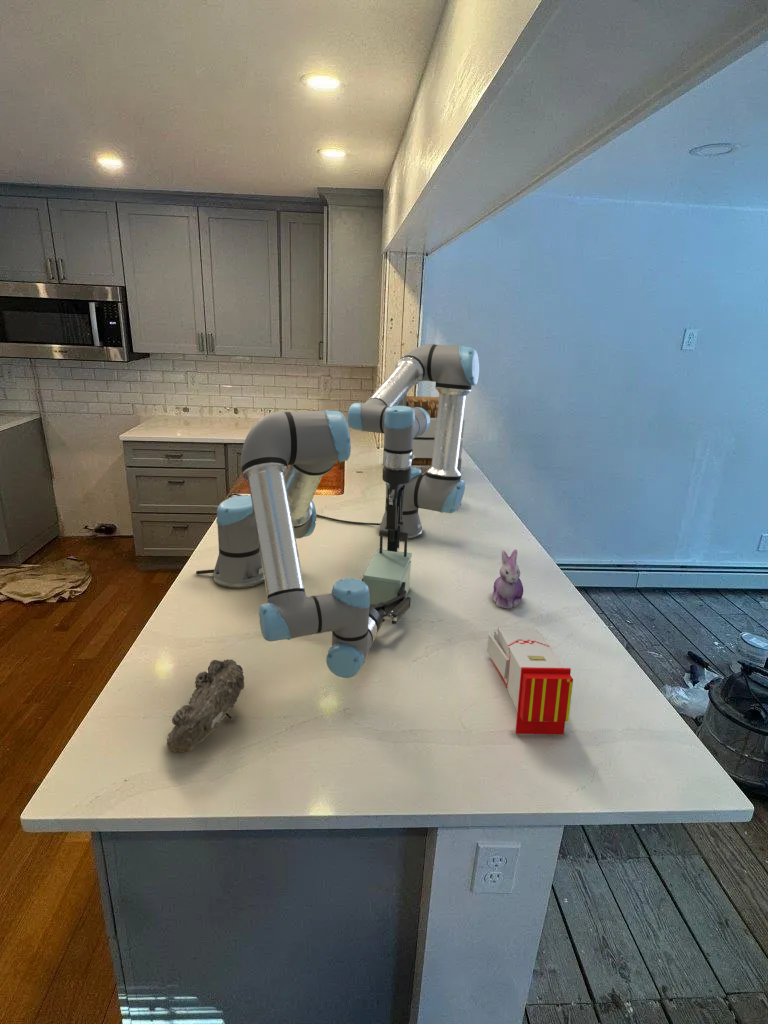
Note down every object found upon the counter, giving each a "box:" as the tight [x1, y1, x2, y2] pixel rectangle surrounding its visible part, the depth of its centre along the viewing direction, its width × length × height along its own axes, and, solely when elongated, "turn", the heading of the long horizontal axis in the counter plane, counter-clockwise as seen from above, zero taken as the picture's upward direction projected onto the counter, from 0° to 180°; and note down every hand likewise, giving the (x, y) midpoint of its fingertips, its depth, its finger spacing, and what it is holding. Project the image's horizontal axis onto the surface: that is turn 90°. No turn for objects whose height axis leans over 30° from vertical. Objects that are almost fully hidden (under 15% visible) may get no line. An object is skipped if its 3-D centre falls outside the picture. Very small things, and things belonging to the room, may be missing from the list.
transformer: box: [397, 393, 465, 474], centre depth 268 cm, size 34×33×41 cm
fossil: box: [166, 658, 245, 754], centre depth 106 cm, size 22×10×15 cm
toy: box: [486, 627, 574, 736], centre depth 118 cm, size 12×13×30 cm
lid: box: [362, 530, 413, 584], centre depth 151 cm, size 16×10×8 cm, turn 167°
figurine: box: [492, 548, 524, 609], centre depth 154 cm, size 9×10×15 cm
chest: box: [362, 560, 412, 614], centre depth 154 cm, size 15×10×9 cm, turn 167°
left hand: (384, 583), depth 149 cm, fingers closed on chest, 10 cm apart
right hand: (393, 548), depth 156 cm, fingers closed on lid, 2 cm apart
